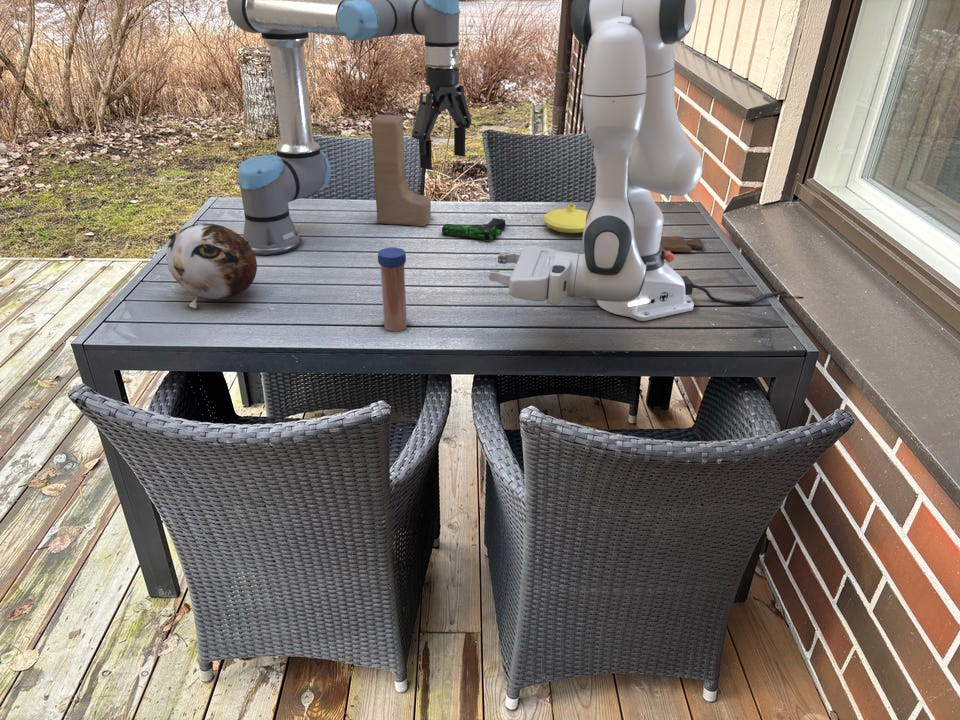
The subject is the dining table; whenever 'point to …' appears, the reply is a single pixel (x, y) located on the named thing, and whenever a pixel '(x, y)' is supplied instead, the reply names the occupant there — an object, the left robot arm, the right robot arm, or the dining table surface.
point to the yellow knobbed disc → (566, 219)
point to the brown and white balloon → (211, 261)
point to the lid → (391, 257)
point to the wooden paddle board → (679, 244)
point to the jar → (394, 298)
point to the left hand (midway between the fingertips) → (443, 161)
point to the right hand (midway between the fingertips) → (494, 266)
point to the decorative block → (394, 176)
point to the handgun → (476, 230)
